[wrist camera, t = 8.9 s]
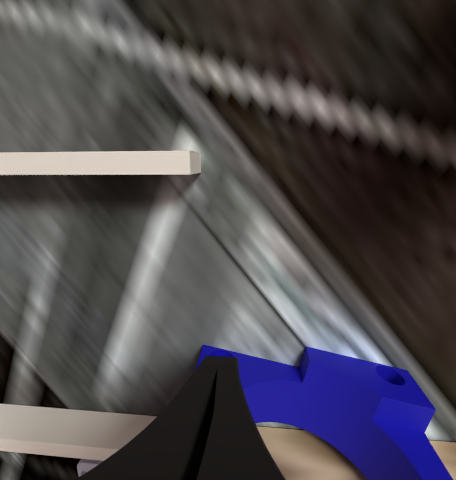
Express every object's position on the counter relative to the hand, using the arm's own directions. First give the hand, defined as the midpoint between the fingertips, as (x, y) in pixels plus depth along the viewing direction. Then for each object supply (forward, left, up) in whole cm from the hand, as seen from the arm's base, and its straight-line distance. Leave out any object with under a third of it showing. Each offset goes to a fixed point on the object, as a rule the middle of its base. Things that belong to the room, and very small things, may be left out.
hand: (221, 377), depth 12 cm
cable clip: (-4, -4, -6) cm, 8 cm away
